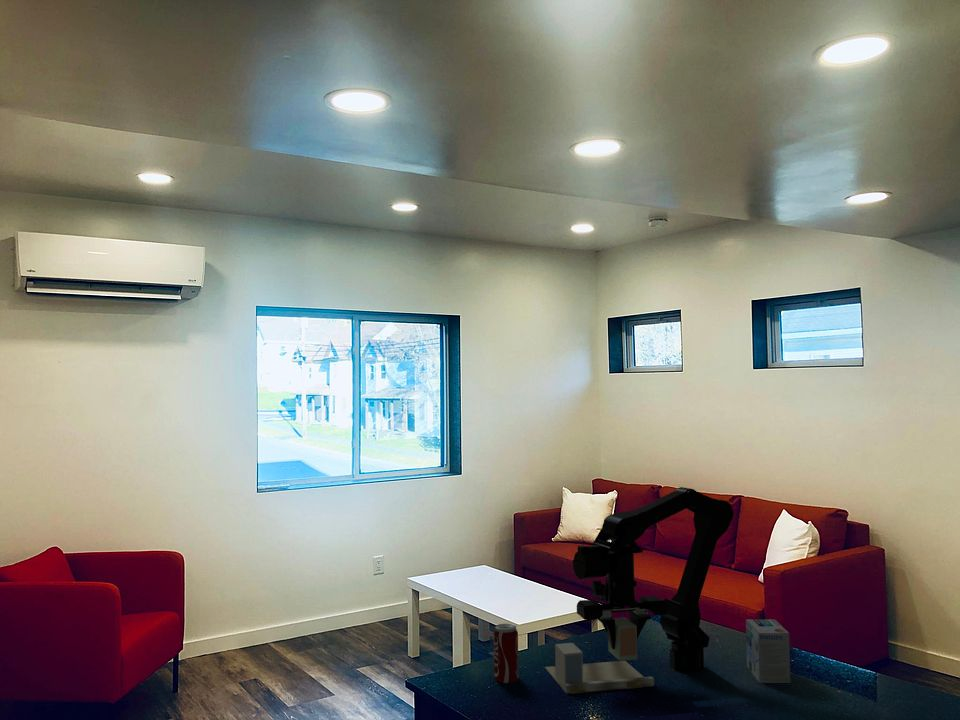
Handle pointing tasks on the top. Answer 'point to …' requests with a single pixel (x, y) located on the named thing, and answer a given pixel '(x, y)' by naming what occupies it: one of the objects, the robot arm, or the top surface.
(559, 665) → the cream carton
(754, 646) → the light bulb box
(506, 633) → the soda can
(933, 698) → the top surface
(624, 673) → the beige shallow tray
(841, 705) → the top surface
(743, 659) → the top surface
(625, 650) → the sage carton
